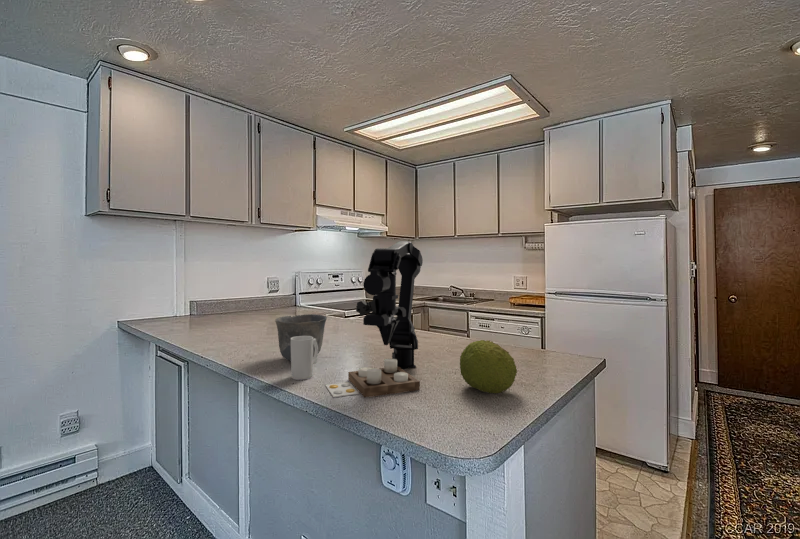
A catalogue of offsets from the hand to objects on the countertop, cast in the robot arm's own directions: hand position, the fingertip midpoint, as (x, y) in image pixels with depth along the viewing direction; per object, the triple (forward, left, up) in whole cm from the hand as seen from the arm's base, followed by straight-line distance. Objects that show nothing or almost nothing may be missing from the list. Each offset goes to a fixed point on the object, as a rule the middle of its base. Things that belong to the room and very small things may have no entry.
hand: (386, 344), depth 115 cm
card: (+14, +1, -11) cm, 18 cm away
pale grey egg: (-2, -3, -9) cm, 9 cm away
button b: (-2, +5, -11) cm, 12 cm away
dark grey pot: (+19, -35, -11) cm, 42 cm away
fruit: (-23, +16, -11) cm, 31 cm away
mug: (+21, -16, -11) cm, 28 cm away
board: (+2, +1, -11) cm, 11 cm away
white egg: (+6, -3, -11) cm, 12 cm away
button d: (+6, +5, -9) cm, 12 cm away
